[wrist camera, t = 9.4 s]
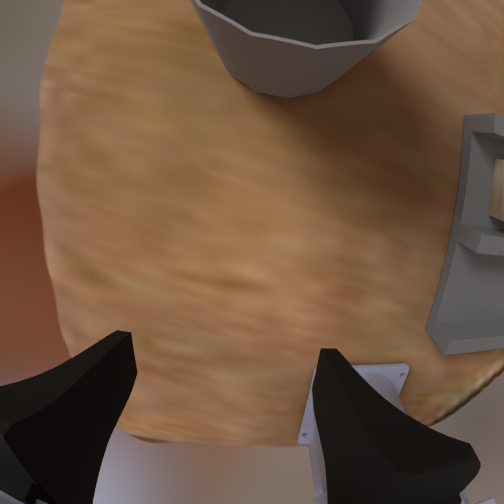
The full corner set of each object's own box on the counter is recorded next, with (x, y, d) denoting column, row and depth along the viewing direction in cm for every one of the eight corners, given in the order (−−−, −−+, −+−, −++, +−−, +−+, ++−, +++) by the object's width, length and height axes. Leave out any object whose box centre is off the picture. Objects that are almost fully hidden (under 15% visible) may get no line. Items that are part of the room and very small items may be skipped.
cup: (186, 47, 16) (123, -28, 7) (268, -38, 14) (273, -139, 4) (300, 125, 17) (344, 104, 8) (377, 34, 15) (459, -32, 6)
